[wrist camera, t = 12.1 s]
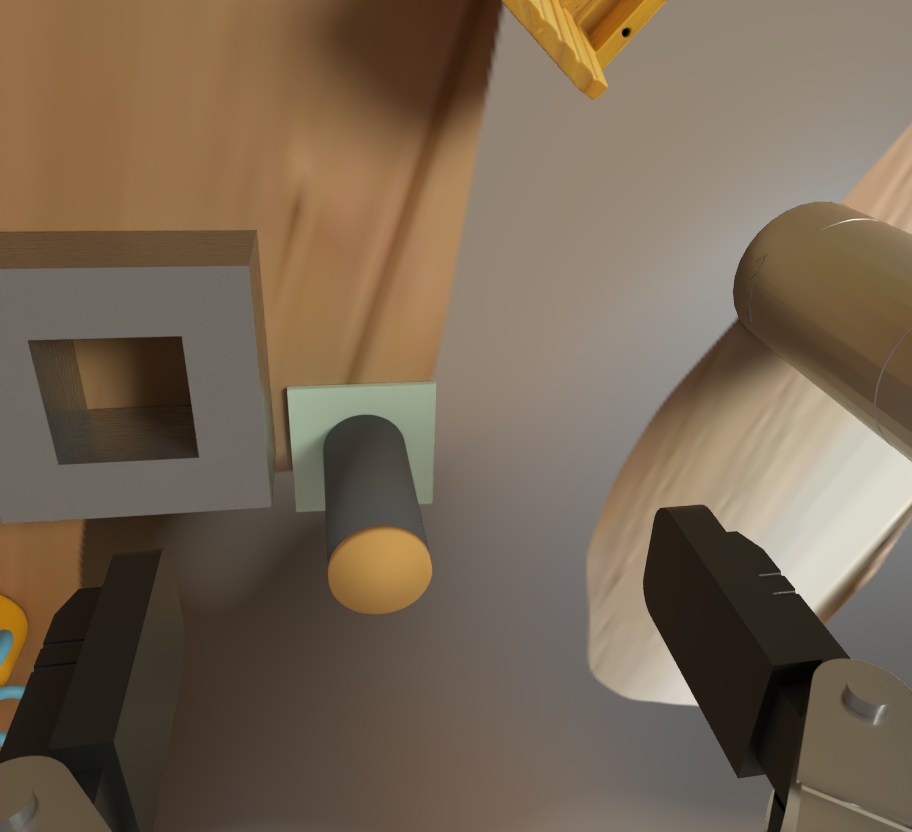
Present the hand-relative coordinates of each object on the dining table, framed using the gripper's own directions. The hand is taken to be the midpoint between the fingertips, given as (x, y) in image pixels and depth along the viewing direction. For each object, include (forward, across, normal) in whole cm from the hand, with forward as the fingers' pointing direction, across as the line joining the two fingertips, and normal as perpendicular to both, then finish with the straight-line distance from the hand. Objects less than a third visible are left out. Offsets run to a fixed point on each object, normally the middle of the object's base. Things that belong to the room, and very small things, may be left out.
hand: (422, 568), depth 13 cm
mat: (+33, 0, +18) cm, 37 cm away
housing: (+33, +12, +10) cm, 36 cm away
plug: (+32, 0, +18) cm, 37 cm away
